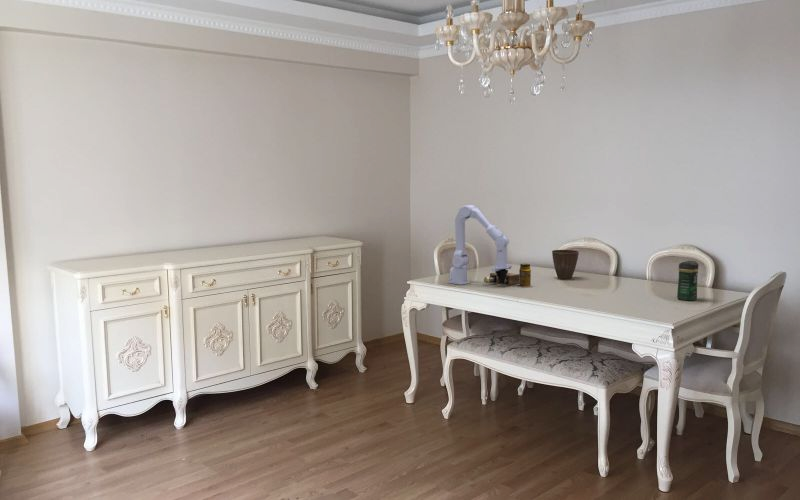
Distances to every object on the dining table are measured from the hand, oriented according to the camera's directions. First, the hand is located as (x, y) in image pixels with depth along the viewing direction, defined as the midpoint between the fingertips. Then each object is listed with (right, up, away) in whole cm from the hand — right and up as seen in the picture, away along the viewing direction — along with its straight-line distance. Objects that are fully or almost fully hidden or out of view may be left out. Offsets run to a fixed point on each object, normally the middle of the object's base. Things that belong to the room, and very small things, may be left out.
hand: (501, 283), depth 360 cm
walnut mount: (+3, -1, +9) cm, 9 cm away
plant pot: (+40, +1, +23) cm, 46 cm away
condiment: (+12, -2, +1) cm, 12 cm away
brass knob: (-5, 0, +7) cm, 8 cm away
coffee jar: (+83, -6, -41) cm, 92 cm away
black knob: (+4, 0, +4) cm, 6 cm away
